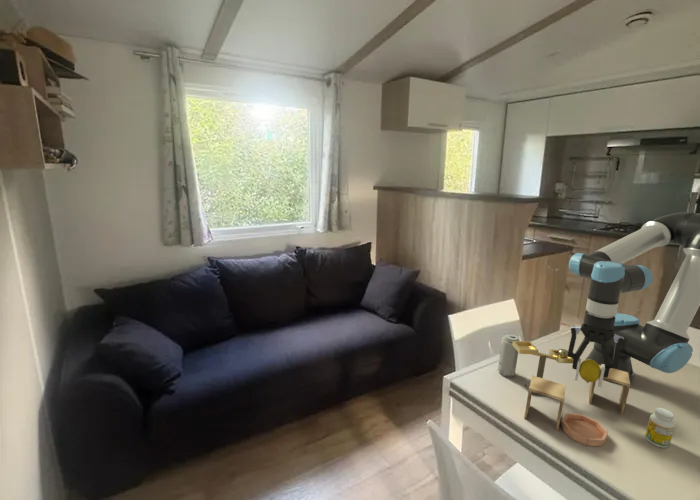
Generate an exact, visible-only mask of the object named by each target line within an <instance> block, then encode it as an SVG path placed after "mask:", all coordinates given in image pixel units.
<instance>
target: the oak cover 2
mask: <svg viewBox="0 0 700 500" xmlns="http://www.w3.org/2000/svg"><path fill="white" fill-rule="evenodd" d="M599 366H600V370H601V365H599ZM604 379H605V380H606V381H608V382H611V381H612V382H613V383H616V384H620V385H622V388H621V390H620V391H621V392H620V395H619V409H620V414H621V415H624V413H625V409H626V403H627V401H628V400H627V399H628V396H629V392H630V387H631V381H630V380H629V374H628V372H625V371H621V370H617V369H613V368H610V370H609V374H608V377H607V378H606V377H603V380H604ZM596 383H597V381H595V382H590V385H589V388H588V404H589V405H592V402H593V397H594V391H595V388H596V387H595V386H596Z"/></svg>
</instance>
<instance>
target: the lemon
mask: <svg viewBox="0 0 700 500" xmlns="http://www.w3.org/2000/svg"><path fill="white" fill-rule="evenodd" d="M600 373H601V371H600V366H599V365H598V363H597V362H595V361H594V360H592V359H588V360H586V359H584V360H583V361H581V363H580V369H579V377H581V378H582V380H584V381H585V382H586V383H591V382H595V381H596V382H597V381H599V377H600Z"/></svg>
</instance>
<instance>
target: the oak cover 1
mask: <svg viewBox="0 0 700 500" xmlns="http://www.w3.org/2000/svg"><path fill="white" fill-rule="evenodd" d="M529 383H530V387H529V392H528V391H527V392H528V393H527V394H528V395H527V398H526V399H527V400H526V405H525V411H524V420H527V418H528V415H529V410H530V408H531V407H530V406H531V400H532V396H533V394H532V391H533V392H536V393H539V394H542V395H541V396H545V397H547V398H548V397H549V398H552V399H556V400H559V401H560V402H559V407H558V412H557V419H556V427H555V431H558V432H559V429H560V425H561V424H560V423H561V420H562V412H563V408H564V403H565V397H566V386H567V385H566V384H561V383H558V382H555V381H552V380H550V379H546V378H544V377H543V378H540V377H537V375H532V377H531V380H530V382H529Z"/></svg>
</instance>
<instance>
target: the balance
mask: <svg viewBox="0 0 700 500" xmlns="http://www.w3.org/2000/svg"><path fill="white" fill-rule="evenodd" d="M512 345H513V346H514V348H515V349H516V350H517V351H518V355H532V356H537V357H539V359H538V364H537V365H538V366H537V372H536V377H540V378H543V379H544V374H545V373H544V372H545V367H546V361H547V359H549V360H553V361H556V363H559V364H573V358H571V357H568V349H565V348H559V349H549V352H548V354H547V353H542V352H539V349H538V348H537V347H536V346H535V345H534V344H533V343H532V341H525V340H523V341H522V340H519V341H513V343H512ZM530 383H531V382H524V383H523V386H524V387H525V389H526V391H527V392H529V387H530ZM532 395H537V396H538V395H540V396H543V395H542V394H539V393H536V392H533V391H532Z"/></svg>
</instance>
